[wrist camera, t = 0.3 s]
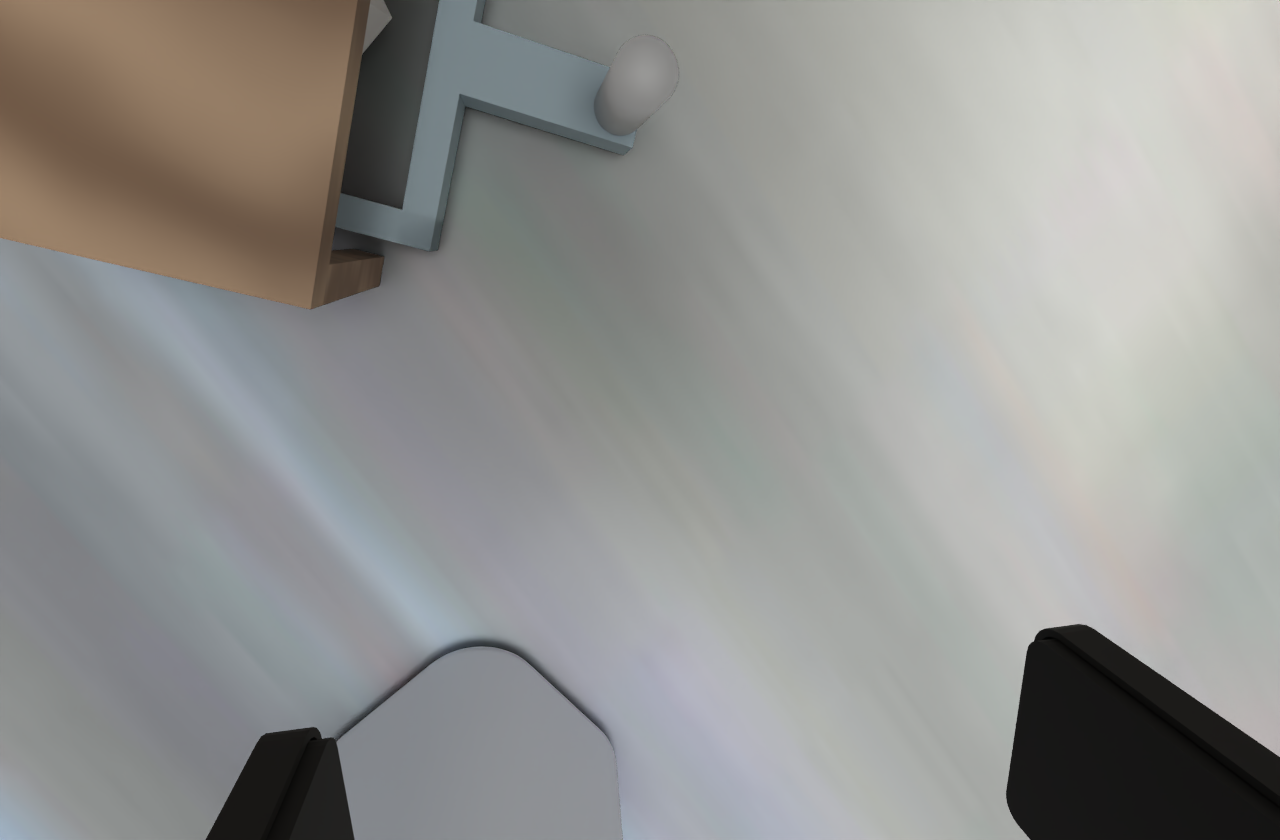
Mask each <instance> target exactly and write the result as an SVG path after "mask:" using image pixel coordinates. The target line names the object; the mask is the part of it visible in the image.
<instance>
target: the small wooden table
mask: <svg viewBox="0 0 1280 840" xmlns="http://www.w3.org/2000/svg"><path fill="white" fill-rule="evenodd" d="M370 1H371V0H0V238H3V239H8V240H12V241H16V242H21V243H25V244H29V245H34V246H38V247H42V248H47V249H51V250H55V251H60V252H64V253H68V254H73V255H77V256H81V257H86V258H90V259H94V260H99V261H103V262H107V263H112V264H116V265H120V266H125V267H129V268H133V269H138V270H142V271H146V272H151V273H155V274H159V275H164V276H168V277H172V278H177V279H181V280H185V281H190V282H194V283H198V284H203V285H207V286H211V287H216V288H220V289H224V290H229V291H233V292H237V293H242V294H246V295H250V296H255V297H259V298H263V299H268V300H272V301H276V302H281V303H285V304H289V305H294V306H298V307H302V308H307V309H313V308H316V307H319V306H322V305H325V304H328V303H331V302H333V301H336V300H339V299H342V298H345V297H348V296H351V295H354V294H357V293H360V292H363V291H366V290H369V289H372V288H375V287H377V286H379V285H380V279H381V274H382V268H383V262H384V256H380V255H376V254H372V253H368V252H364V251H360V250H356V249H344V250H332V243H333V237H334V231H335V224H336V218H337V212H338V205H339V199H340V192H341V186H342V180H343V173H344V167H345V160H346V154H347V148H348V141H349V135H350V128H351V122H352V116H353V109H354V103H355V97H356V90H357V84H358V77H359V71H360V65H361V58H362V52H363V45H364V39H365V33H366V26H367V20H368V13H369V7H370Z"/></svg>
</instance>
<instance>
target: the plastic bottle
mask: <svg viewBox="0 0 1280 840" xmlns="http://www.w3.org/2000/svg"><path fill="white" fill-rule="evenodd" d="M336 743H337V747H338V752H339V757H340V763H341V768H342V774H343V779H344V784H345V790H346V795H347V801H348V806H349V812H350V817H351V822H352V828H353V833H354V839H355V840H623V835H622V823H621V811H620V799H619V787H618V775H617V763H616V757H615V753H614V750H613V748H612V746H611V744H610V742H609V740H608V738H607V737H606V736H605V734H604V733H603V732H602V731H601V730H600V729H599V728H598V727H597V726H596V725H595V724H594V723H593V722H591V721H590V720H589V719H588V718H587V717H586V716H585V715H584V714H583V713H582V712H581V711H580V710H578V709H577V708H576V707H575V706H574V705H573V704H572V703H571V702H570V701H569V700H568V699H567V698H565V697H564V696H563V695H562V694H561V693H560V692H559V691H558V690H557V689H556V688H555V687H554V686H553V685H551V684H550V683H549V682H548V681H547V680H546V679H545V678H544V677H543V676H542V675H541V674H540V673H538V672H537V671H536V670H535V669H534V668H533V667H532V666H531V665H530V664H529V663H527V662H526V661H525V660H524V659H522V658H521V657H519V656H518V655H516V654H514V653H511V652H509V651H506V650H503V649H499V648H494V647H483V646H480V647H469V648H464V649H460V650H456V651H453V652H451V653H448V654H446V655H444V656H442V657H441V658H439V659H437V660H436V661H434V662H433V663H432V664H430V665H429V666H428V667H427V668H425V669H424V670H423V671H422V672H420V673H419V674H418V675H417V676H416V677H414V678H413V679H412V680H411V681H409V682H408V683H407V684H406V685H404V686H403V687H402V688H401V689H400V690H398V691H397V692H396V693H395V694H393V695H392V696H391V697H390V698H389V699H387V700H386V701H385V702H384V703H382V704H381V705H380V706H379V707H377V708H376V709H375V710H374V711H373V712H371V713H370V714H369V715H368V716H366V717H365V718H364V719H363V720H362V721H360V722H359V723H358V724H357V725H355V726H354V727H353V728H352V729H350V730H349V731H348V732H347V733H346V734H344V735H343V736H342V737H341V738H340V739H339V740H338V741H337V742H336Z"/></svg>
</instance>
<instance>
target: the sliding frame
mask: <svg viewBox="0 0 1280 840" xmlns="http://www.w3.org/2000/svg"><path fill="white" fill-rule="evenodd" d="M485 1H486V0H439V5H438V11H437V17H436V22H435V28H434V34H433V39H432V45H431V50H430V56H429V62H428V67H427V73H426V79H425V84H424V90H423V96H422V101H421V107H420V113H419V118H418V124H417V129H416V135H415V141H414V146H413V152H412V158H411V163H410V169H409V175H408V180H407V186H406V191H405V197H404V203H403V208H402V209H399V208H396V207H392V206H388V205H384V204H381V203H377V202H373V201H370V200H366V199H362V198H359V197H355V196H351V195H347V194H344V193H340V199H339V205H338V212H337V218H336V224H335V227H337V228H341V229H345V230H349V231H353V232H356V233H360V234H364V235H368V236H372V237H376V238H380V239H383V240H387V241H391V242H395V243H399V244H403V245H407V246H410V247H414V248H418V249H422V250H426V251H436V250H438V247H439V241H440V236H441V231H442V226H443V220H444V215H445V210H446V205H447V200H448V194H449V189H450V184H451V179H452V173H453V168H454V163H455V158H456V153H457V147H458V142H459V137H460V132H461V126H462V121H463V116H464V111H465V106H466V107H469V108H473V109H476V110H479V111H482V112H486V113H489V114H492V115H495V116H499V117H502V118H505V119H508V120H511V121H515V122H518V123H521V124H524V125H528V126H531V127H534V128H537V129H540V130H544V131H547V132H550V133H553V134H557V135H560V136H563V137H566V138H569V139H573V140H576V141H579V142H582V143H586V144H589V145H592V146H595V147H598V148H602V149H605V150H608V151H611V152H615V153H618V154H621V155H624V154H626V153H627V152H628V151H629V150H630V149H632V148H633V143H634V139H635V135H636V131H637V129H638V128H639V127H640V126H641V125H642V124H643V123H644V122H645V121H646V120H647V119H648V118H649V117H650V116H651V115H652V114H653V113H655V112H656V111H657V110H658V109H659V108H660V107H661V106H662V105H663V104H664V103H665V102H666V101H667V100H668V99H669V98H670V97H671V96H672V94H673V93H674V91H675V89H676V86H677V83H678V78H679V67H678V62H677V59H676V56H675V54H674V52H673V51H672V49H671V48H670V47H669V46H668V44H667V43H665V42H664V41H663V40H661V39H660V38H657V37H655V36H652V35H639V36H635V37H633V38H631V39H629V40H628V41H626V42H625V43H624V44H623V45H622V46H621V48H620V49H619V51H618V52H617V54H616V56H615V58H614V60H613V62H612V64H611V66H610V67H608V66H605V65H602V64H599V63H596V62H593V61H590V60H587V59H584V58H581V57H578V56H576V55H573V54H570V53H567V52H564V51H561V50H558V49H555V48H552V47H549V46H546V45H543V44H540V43H537V42H534V41H531V40H528V39H525V38H522V37H520V36H517V35H514V34H511V33H508V32H505V31H502V30H499V29H496V28H493V27H490V26H487V25H484V24H481V22H482V17H483V11H484V6H485Z"/></svg>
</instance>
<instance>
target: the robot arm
mask: <svg viewBox="0 0 1280 840" xmlns="http://www.w3.org/2000/svg"><path fill="white" fill-rule="evenodd" d="M1006 798H1007V804H1008V807H1009V810H1010V812H1011V814H1012V816H1013V818H1014V820H1015V821H1016V823H1017V824H1018V825H1019V827H1020V828H1021V829H1022V830H1023V831H1024V832H1025V834H1026V835H1027V836H1028V837H1029V838H1030V840H1280V757H1279V756H1277V755H1276V754H1274V753H1273V752H1272V751H1270V750H1269V749H1267V748H1266V747H1264V746H1263V745H1261V744H1260V743H1258V742H1257V741H1256V740H1254V739H1253V738H1251V737H1250V736H1248V735H1247V734H1245V733H1244V732H1242V731H1241V730H1240V729H1238V728H1237V727H1235V726H1234V725H1232V724H1231V723H1229V722H1228V721H1227V720H1225V719H1224V718H1222V717H1221V716H1219V715H1218V714H1216V713H1215V712H1213V711H1212V710H1211V709H1209V708H1208V707H1206V706H1205V705H1203V704H1202V703H1200V702H1199V701H1197V700H1196V699H1195V698H1193V697H1192V696H1190V695H1189V694H1187V693H1186V692H1184V691H1183V690H1182V689H1180V688H1179V687H1177V686H1176V685H1174V684H1173V683H1171V682H1170V681H1168V680H1167V679H1166V678H1164V677H1163V676H1161V675H1160V674H1158V673H1157V672H1155V671H1154V670H1152V669H1151V668H1150V667H1148V666H1147V665H1145V664H1144V663H1142V662H1141V661H1139V660H1138V659H1137V658H1135V657H1134V656H1132V655H1131V654H1129V653H1128V652H1126V651H1125V650H1123V649H1122V648H1121V647H1119V646H1118V645H1116V644H1115V643H1113V642H1112V641H1110V640H1109V639H1107V638H1106V637H1105V636H1103V635H1102V634H1100V633H1099V632H1097V631H1096V630H1094V629H1093V628H1091V627H1089V626H1087V625H1081V624H1077V625H1069V626H1062V627H1054V628H1047V629H1043V630H1041V631H1039V633H1038V634H1037V635H1036V637H1035V640H1034V642H1032V643H1031V644H1030V645H1029V646H1028V650H1027V655H1026V661H1025V668H1024V675H1023V682H1022V689H1021V695H1020V702H1019V709H1018V716H1017V723H1016V729H1015V736H1014V743H1013V750H1012V756H1011V763H1010V770H1009V777H1008V784H1007V790H1006ZM206 840H355V839H354V833H353V828H352V822H351V817H350V812H349V806H348V801H347V795H346V790H345V784H344V779H343V774H342V768H341V763H340V757H339V752H338V747H337V743H336V741H335V739H334V738H325V739H322V738H321V734H320V732H319V730H318V729H317V728H315V727H311V728H303V729H296V730H288V731H281V732H273V733H266V734H265V735H263V736H261V738H260V739H259V741H258V742H257V744H256V746H255V748H254V749H253V751H252V753H251V755H250V757H249V759H248V761H247V763H246V765H245V766H244V768H243V770H242V772H241V774H240V776H239V778H238V780H237V782H236V783H235V785H234V787H233V789H232V791H231V793H230V795H229V797H228V799H227V800H226V802H225V804H224V806H223V808H222V810H221V812H220V814H219V816H218V817H217V819H216V821H215V823H214V825H213V827H212V829H211V831H210V833H209V834H208V836H207V838H206Z"/></svg>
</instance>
